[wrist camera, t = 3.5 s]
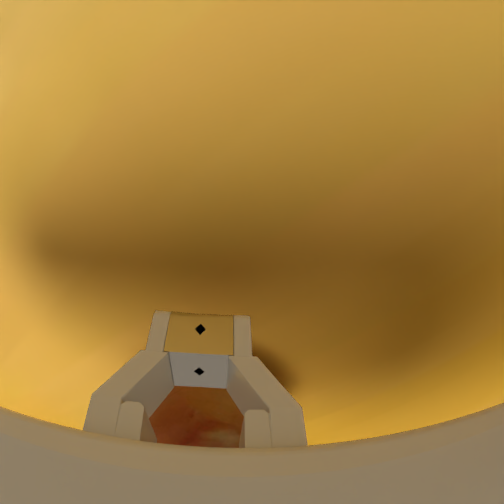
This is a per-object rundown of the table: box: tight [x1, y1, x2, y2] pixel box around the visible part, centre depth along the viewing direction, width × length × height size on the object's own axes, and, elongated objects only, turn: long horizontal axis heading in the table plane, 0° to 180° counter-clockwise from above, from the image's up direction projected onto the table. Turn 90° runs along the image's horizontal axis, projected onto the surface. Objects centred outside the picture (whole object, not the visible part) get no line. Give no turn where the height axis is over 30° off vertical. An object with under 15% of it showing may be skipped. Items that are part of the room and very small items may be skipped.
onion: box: [149, 386, 244, 448], centre depth 16 cm, size 10×10×10 cm
